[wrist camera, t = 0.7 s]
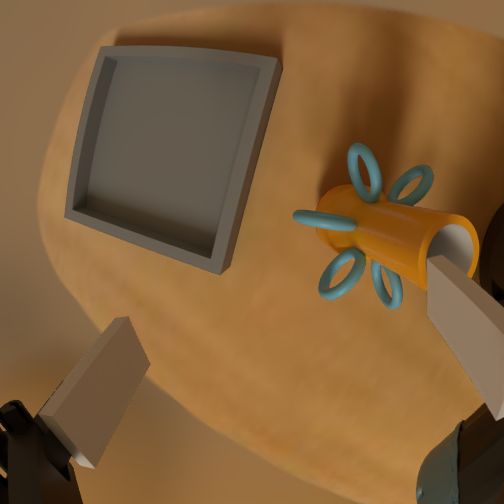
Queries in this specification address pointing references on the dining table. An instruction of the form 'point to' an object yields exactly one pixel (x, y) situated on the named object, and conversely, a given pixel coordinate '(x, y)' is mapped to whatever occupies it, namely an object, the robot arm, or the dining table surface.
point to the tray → (171, 148)
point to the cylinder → (387, 231)
